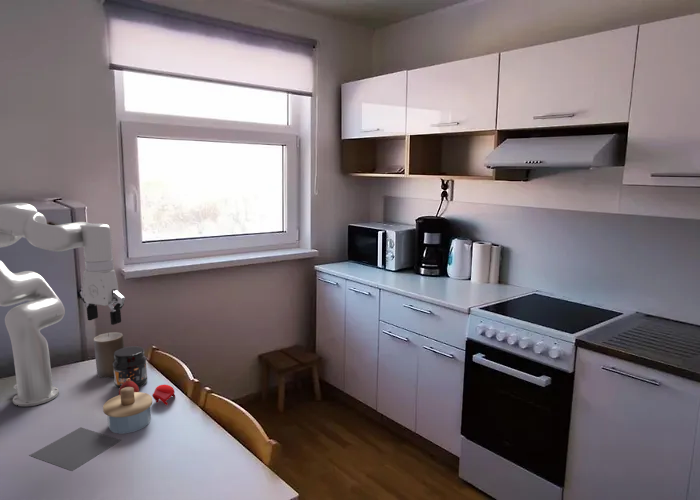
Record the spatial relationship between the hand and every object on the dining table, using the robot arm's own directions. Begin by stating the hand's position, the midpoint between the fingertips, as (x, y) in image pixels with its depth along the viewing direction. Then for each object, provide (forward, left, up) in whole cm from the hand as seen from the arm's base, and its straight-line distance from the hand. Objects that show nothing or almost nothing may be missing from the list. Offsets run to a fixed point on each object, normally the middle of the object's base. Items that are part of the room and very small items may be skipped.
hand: (104, 321), depth 149 cm
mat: (+10, -20, -28) cm, 36 cm away
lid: (+13, -5, -22) cm, 26 cm away
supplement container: (-8, +15, -29) cm, 33 cm away
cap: (+12, +10, -29) cm, 33 cm away
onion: (+2, +5, -28) cm, 29 cm away
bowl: (+13, -5, -28) cm, 32 cm away
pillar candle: (-22, +19, -28) cm, 41 cm away
